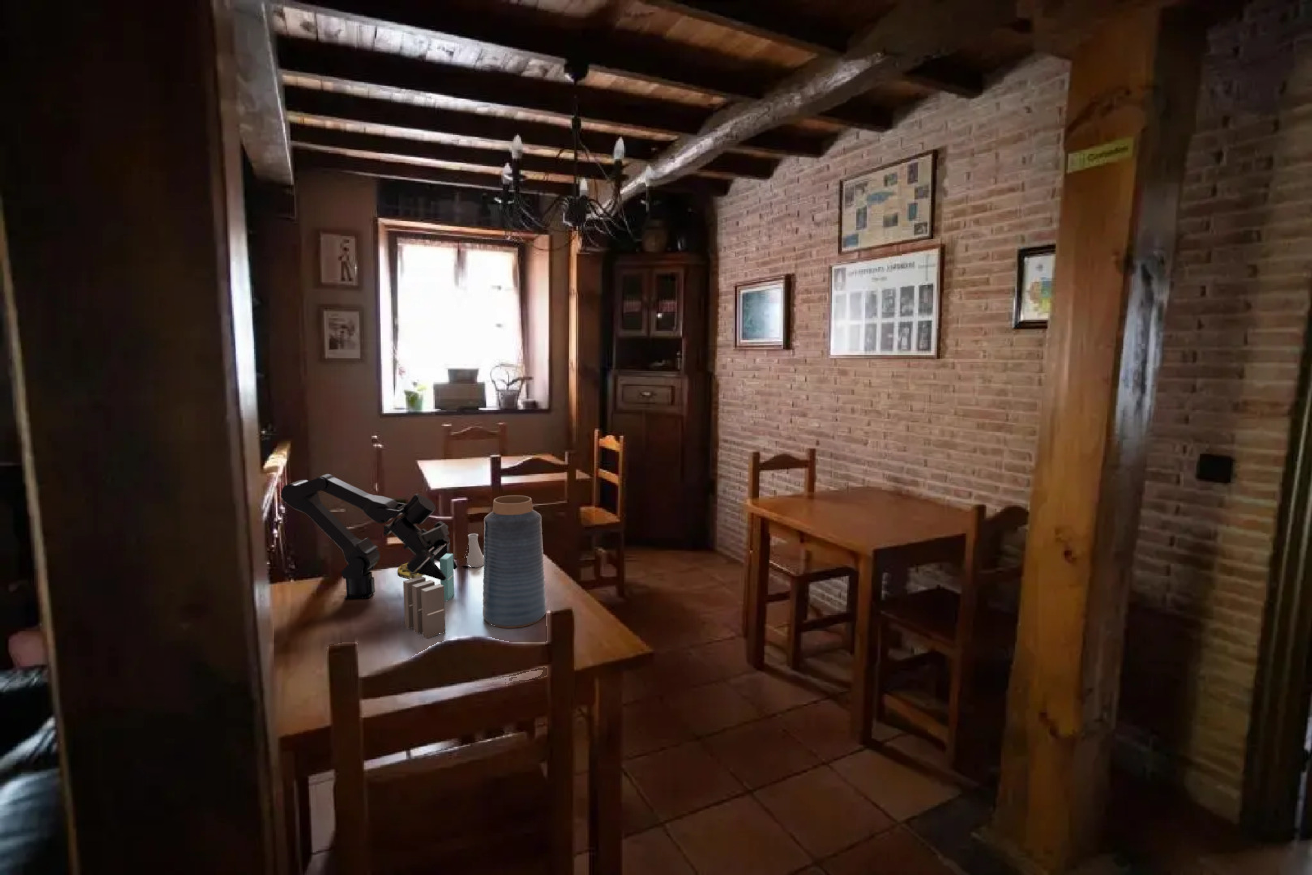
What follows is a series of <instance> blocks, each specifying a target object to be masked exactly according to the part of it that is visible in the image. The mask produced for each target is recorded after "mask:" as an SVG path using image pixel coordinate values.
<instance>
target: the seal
mask: <svg viewBox="0 0 1312 875" xmlns="http://www.w3.org/2000/svg"><path fill="white" fill-rule="evenodd" d="M409 562H410V561H408V562H406V563H404V564H400V566H398V568H397V575H398V576H399V577H401V578H404V577H405V578H404V579H413V578H416V577H420V576H422V577H424V575H423V574H419V573H417V574H416V573H415V572H416V571H417V570H418V568H417V570H416V571H414V572H413V573H411V572H410V571H409V570H408V569H407V564H408V563H409Z"/></svg>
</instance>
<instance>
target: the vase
mask: <svg viewBox="0 0 1312 875" xmlns="http://www.w3.org/2000/svg"><path fill="white" fill-rule="evenodd" d="M542 521H543V520H542V515H541V513H539V512H538V511H536V510H534V506H533V500H532V498H531V497H529V496H526V495H520V494H519V495H515V494H514V495H512V494H511V495H504V496H503V495H502V496H498V497H496V498H494V499H493V503H492V511H490V512H489V513H488V514H487V515H485V516H484V518H483V524H484V525H483V528H484V529H483V541H484V542H483V557H484V565H483V579H482V582H483V584H482V586H483V587H482V617H483V619H484V620H485V621H486V623H488V624H489V625H491V624H492V625H491V626H493V625H495V626H494V627H497V626H498V628H504V629H513V628H514V629H515V628H522V627H527V626H531V625H533V624H536V623H537V622H539V621H540V620H541V619H542V618H543V617H544V616H545V614H546V613H547V602H546V597H547V596H546V587H545V586H546V581H545V578H546V577H545V567H544V566H545V565H544V547H543V534H542V533H543V526H542V524H543V523H542Z"/></svg>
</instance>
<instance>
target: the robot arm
mask: <svg viewBox="0 0 1312 875" xmlns="http://www.w3.org/2000/svg"><path fill="white" fill-rule="evenodd" d="M321 491H322V492H323V493H326V494H328V495H331V496H333V497H335V498H337V499H340V500H342V501H343V502H346V503H348V504H350V505H352V506H355V507H357V508H358V509H360V510H361V511H362V512H363V513H364V514H365V516H367V517H368V518H369V519H370V520H372V521H373V522H375V523H376V524H385V523H387V522H389V521H391V520H392V519H393V520H392V521H391V522H390V523H387V524H385V525H383V536H384V537H385V536H387V535H389V534H391V533H392V534H393V535H394V536H395V537H397V539H399V541H401V542H402V544H404V545H403V546H402V547H403V549H404V550H407V549H409V551H411V552H412V554H414V556H413V557H412V559H410V560H409V561H408V562H409V563H408V562H407V563H408V564H407V569H408V570H409V571H410V572H411V573H413V572H414V571H416V570H417V568H418V570H417V571H416V572H415V573H416V574H417V573H419V574H423V576H427V577H430V578H433V579H437V580H442V581H444V580H445V579H446V577H445V575H444V574H443V573H442V571H441V570H440V567H439V566H437V564H436V563H435V560H436V561H438V562H439V563H440V559H441V558H442V557H443V556H444V555H445V554H452V553H451V550H450V544H451V542H450V540H451V538H450V537H449V536H448V535H450V532H449V530H448V529H449V525H447V524H446V523H444V522H443V521H442V520H440V521H438V522H436V523H435V524H434V527H433V528H431V529H430V530H427V529H426V528H422V529H421V528H419V527H418V526H417V525H422V524H423V523H424V522H425V521H426V520H427V519H428V518H429V517H430V516H431V515H432V514H433V513H434V512H435V511H436V508H437V507H436V505H435V504H434V502H433V501H432V500H431V499H429V498H427V497H425V496H423V495H421V494H420V493H416V494H414V495H413V496H412V497H411V499H410V500H409V501H408V503H403V502H397V500H395V499H394V498H390V497H386V496H383V495H374V494H370V493H368V492H366V491H364V490H362V489H360V488H358V487H355V486H354V485H351V484H350V483H347V482H345V481H343V480H341V479H339V478H337V477H335V475H332V474H329V473H326V474H323V475H320V476H318V477H316V478H314V479H311V480H307V479H300V480H296V481H294V482H292V483H291V482H290V483H289V484H285V485H284V486H283V487H282V489H281V491H280V493H281V494H280V497H281V500H282V501H283V502H284V503H286V505H288V506H289V507H291V508H292V509H294V510H296V511H298V512H301V513H303V514H306V516H308V518H310V519H311V521H313V522H314V524H315V525H317V527H318V528H320V529H321V531H323V532H324V533H325V534H326V535H327V537H329V538H330V539H331V541H333V542H334V543H335V544H336V545H337V546H338V548H340V549H341V550H342V553H343V556H344V560H345V562H346V563H347V564H346V566H345V567H344V568H343V569H342V570H341V572H340V574H341V576H342V579H344V580H345V590H346V595H345V596H344V599H345V600H347V599H348V600H350V599H351V600H353V599H354V600H356V599H369V598H370V597H371V596H372V594H374V592H375V590H376V588H375V587H376V585H375V577H374V576H373V570H374V569H375V566H376V565H377V564H378V563H379V561H380V557H381V556H380V555H381V553H380V551H379V550H378V548H379V547H378V546H377V545H375V544H374V543H373V542H372V540H371V539H370V538H369V537H366V538H364V539H361V538H358V537H357V536H355V535H354V533H353V532H352V531H351V530H349V529H348V528H347V526H345V525H344V524H343V523H342V522H341V521H340V520H339V518H337V517H336V516H335V515H334V513H332V511H330V510H329V509H328V507H327V506H325V505H324V504H323V502H322V501H321V498H320V495H319V492H321ZM402 514H403V515H402ZM401 515H402V516H401ZM399 516H400V517H399ZM458 566H459V565H457V563H456V561H455V559H454V558H453V568H454V570H457V569H458Z"/></svg>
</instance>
